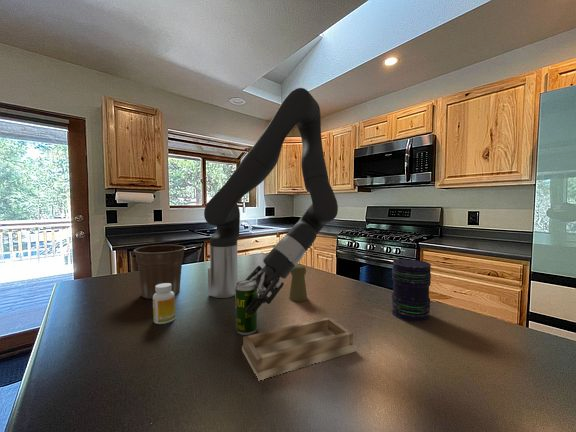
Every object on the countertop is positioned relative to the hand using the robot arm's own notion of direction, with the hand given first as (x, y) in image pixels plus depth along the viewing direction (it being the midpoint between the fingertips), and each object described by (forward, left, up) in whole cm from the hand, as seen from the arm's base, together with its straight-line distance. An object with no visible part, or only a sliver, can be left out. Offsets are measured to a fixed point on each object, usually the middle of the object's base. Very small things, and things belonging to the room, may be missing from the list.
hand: (243, 306), depth 66 cm
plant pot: (-37, +21, -6) cm, 44 cm away
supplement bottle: (-23, +2, -6) cm, 24 cm away
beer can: (+1, 0, -6) cm, 7 cm away
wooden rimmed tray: (+15, -7, -6) cm, 17 cm away
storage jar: (+44, +16, -6) cm, 47 cm away
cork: (+11, +24, -6) cm, 28 cm away
